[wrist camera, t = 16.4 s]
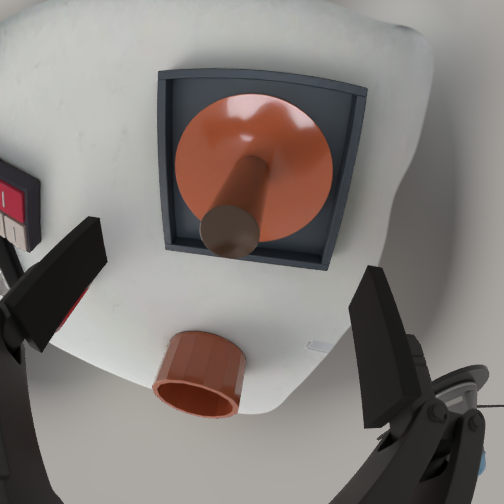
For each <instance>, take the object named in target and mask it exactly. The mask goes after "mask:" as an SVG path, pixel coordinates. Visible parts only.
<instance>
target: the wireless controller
mask: <svg viewBox="0 0 504 504" xmlns="http://www.w3.org/2000/svg"><path fill="white" fill-rule="evenodd" d="M23 274H24V272H23V270H22V267H21V265H20V262H19V260H18V257H17V254H16V252H15V249H14V246H13V244H12V243H11V242H9V241H8V240H7V238H6V237H5V238H3V237H2V236H0V295H2V296H5V294H6V293H7V292H8V291H9V290H10V289H11V288H12V286H13V285H14V284H15V283H16V282H18V280H19V279H20V278H21V276H23Z"/></svg>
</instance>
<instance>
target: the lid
mask: <svg viewBox="0 0 504 504" xmlns="http://www.w3.org/2000/svg"><path fill="white" fill-rule="evenodd" d="M175 173H176V179H177V184H178V187H179V190H180V192H181V195H182V197H183V199H184V201H185V202H186V204H187V206H188V207H189V208H190V210H191V211H192V212H193V213H194V215H195V216H196V217H197V218H198V219H199V220H200V221H201V223H200V236H201V239H202V241H203V243H204V244H205V246H206V247H207V248H208V249H209V250H210V251H211V252H213V253H214V254H216V255H218V256H221V257H224V258H229V259H236V258H242V257H244V256H247V255H248V254H250V253H251V252H252V251H254V249H255V248H256V247H257V245H258V243H259V242H265V241H272V240H277V239H280V238H283V237H286V236H289V235H291V234H293V233H295V232H297V231H298V230H300V229H302V228H303V227H305V226H306V225H307V224H308V223H309V222H310V221H312V220H313V218H314V217H315V216H316V215H317V214H318V213H319V211H320V210H321V208H322V207H323V205H324V203H325V201H326V199H327V197H328V195H329V192H330V189H331V184H332V179H333V163H332V156H331V152H330V148H329V146H328V143H327V141H326V138H325V137H324V135H323V133H322V132H321V130H320V128H319V127H318V126H317V125H316V123H315V122H314V121H313V120H312V119H311V118H310V117H309V116H308V115H307V114H306V113H305V112H304V111H303V110H301V109H300V108H298V107H297V106H295V105H294V104H292V103H290V102H288V101H286V100H284V99H281V98H278V97H275V96H271V95H266V94H257V93H247V94H238V95H233V96H229V97H226V98H223V99H220V100H218V101H216V102H214V103H212V104H210V105H209V106H207V107H206V108H204V109H203V110H202V111H200V112H199V113H198V114H197V115H196V116H195V117H194V118H193V119H192V121H191V122H190V123H189V124H188V126H187V127H186V129H185V131H184V132H183V134H182V136H181V139H180V141H179V144H178V147H177V152H176V158H175Z"/></svg>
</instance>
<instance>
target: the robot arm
mask: <svg viewBox="0 0 504 504" xmlns="http://www.w3.org/2000/svg"><path fill="white" fill-rule="evenodd" d="M107 262H108V261H107V256H106V251H105V246H104V241H103V235H102V230H101V224H100V218H96V217H90V216H88V217H87V218H86V219H85V220H83V221H82V222H81V223H80V224H79V225H78V226H77V227H75V228H74V229H73V230H72V231H71V232H70V233H69V234H68V235H67V236H66V237H65V238H63V239H62V240H61V241H60V242H59V243H58V244H57V245H56V246H55V247H54V248H53V249H52V250H51V251H50V252H49V253H48V254H47V255H46V256H45V257H44V258H43V259H42V260H41V261H40V262H38V263H36V264H35V265H33V266H31V267H30V268H29V269H28V270H27V271H26V272H25V273H24V274H23V276H21V278H20V279H19V280H18V282H16V283H15V284H14V285H13V286H12V288H11V289H10V290H9V291H8V292H7V293H6V294H5V296H4V297H3V298H2V299H1V300H0V504H64V503H63V502H62V501H61V499H60V498H59V497H58V496H57V495H56V494H55V492H54V491H53V489H52V487H51V485H50V482H49V479H48V476H47V473H46V470H45V467H44V464H43V460H42V457H41V453H40V450H39V445H38V442H37V437H36V433H35V428H34V423H33V418H32V413H31V407H30V400H29V393H28V385H27V375H26V363H25V348H24V344H23V343H22V342H23V341H24V339H26V340H27V342H28V343H29V345H30V346H31V347H32V348H34V349H36V350H37V351H39V352H41V353H42V352H43V350H44V348H45V347H46V345H47V344H48V342H49V341H50V339H51V338H52V336H53V335H54V333H55V332H56V330H57V329H58V327H59V326H60V324H61V323H62V322H63V320H64V319H65V317H66V316H67V314H68V313H69V312H70V310H71V309H72V307H73V306H74V305H75V303H76V302H77V301H78V299H79V298H80V297H81V295H82V294H83V293H84V291H85V290H86V289H87V287H88V286H89V285H90V283H91V282H92V281H93V280H94V278H95V277H96V276H97V274H98V273H99V272H100V271H101V269H102V268H103V267H104V266H105V265H106V263H107ZM348 309H349V314H350V320H351V325H352V331H353V338H354V344H355V351H356V358H357V365H358V372H359V379H360V389H361V398H362V409H363V419H364V429H365V428H382V427H383V426H384V425H386V424H387V423H388V422H389V423H390V429H389V430H388V431H386V432H385V433H384V434H382V435H380V436H379V437H378V438H377V440H380V439H381V438H382V440H381V441H380V442H379V444H378V445H377V447H376V448H375V449H374V451H373V452H372V453H371V455H370V456H369V457H368V459H367V460H366V461H365V463H364V464H363V465H362V466H361V468H360V469H359V470H358V471H357V473H356V474H355V475H354V476H353V477H352V479H351V480H350V481H349V482H348V483H347V484H346V485H345V487H344V488H343V489H342V490H341V491H340V492H339V493H338V494H337V495H336V496H335V498H334V499H333V500H332V501H331V502H330V503H329V504H471V501H472V498H473V494H474V490H475V486H476V482H477V477H478V476H479V475H480V474H482V473H483V471H484V469H485V466H486V462H485V451H484V447H483V443H484V435H485V420H484V416H483V415H482V413H481V412H480V411H479V410H477V408H481V407H483V408H484V407H504V405H477V386H476V383H475V381H474V380H464V381H460V382H457V383H454V384H451V385H449V386H447V387H444V388H442V389H440V390H438V391H437V392H435V393H434V389H433V385H432V382H431V378H430V374H429V371H428V367H427V366H426V360H425V357H423V356H424V354H423V351H422V348H421V345H420V343H419V342H418V340H417V339H416V337H415V336H414V335H411V334H406V333H405V330H404V327H403V324H402V321H401V318H400V315H399V312H398V309H397V306H396V303H395V301H394V297H393V295H392V292H391V290H390V287H389V284H388V281H387V279H386V277H385V274H384V271H383V269H382V268H380V267H375V266H370V265H368V266H367V268H366V271H365V273H364V275H363V277H362V280H361V282H360V284H359V286H358V288H357V290H356V293H355V295H354V297H353V299H352V301H351V303H350V305H349V307H348Z"/></svg>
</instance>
